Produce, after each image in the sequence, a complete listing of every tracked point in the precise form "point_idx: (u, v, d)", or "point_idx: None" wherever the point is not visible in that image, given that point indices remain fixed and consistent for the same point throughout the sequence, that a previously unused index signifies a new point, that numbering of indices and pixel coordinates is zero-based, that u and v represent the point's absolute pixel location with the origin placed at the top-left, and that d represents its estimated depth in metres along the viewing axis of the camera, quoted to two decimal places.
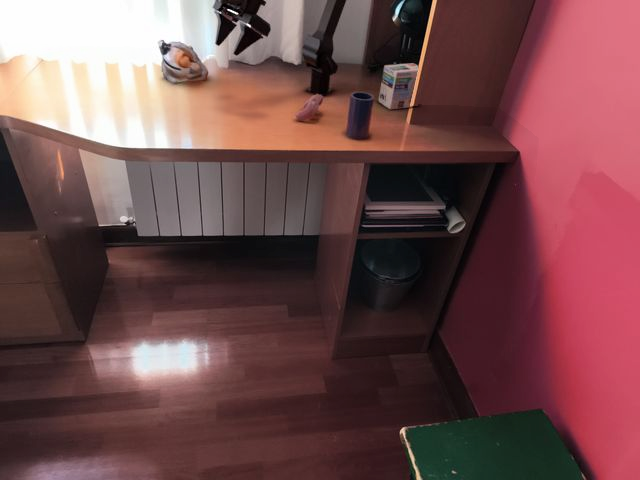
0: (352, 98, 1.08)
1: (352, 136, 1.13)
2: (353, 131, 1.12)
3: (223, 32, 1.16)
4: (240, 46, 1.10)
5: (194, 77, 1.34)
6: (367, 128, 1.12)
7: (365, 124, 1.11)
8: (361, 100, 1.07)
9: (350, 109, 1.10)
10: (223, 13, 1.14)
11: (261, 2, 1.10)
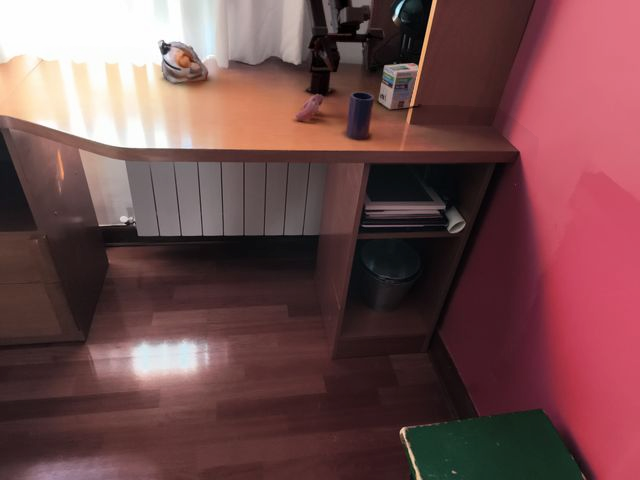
0: (352, 98, 1.08)
1: (352, 136, 1.13)
2: (353, 131, 1.12)
3: None
4: None
5: (194, 77, 1.34)
6: (367, 128, 1.12)
7: (365, 124, 1.11)
8: (361, 100, 1.07)
9: (350, 109, 1.10)
10: None
11: None
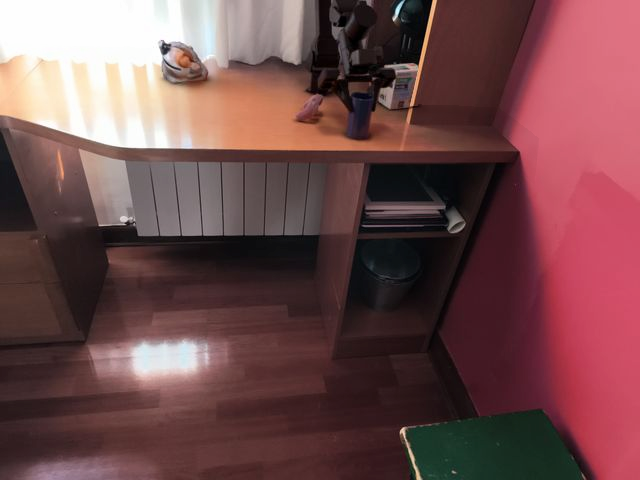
0: (352, 98, 1.08)
1: (352, 136, 1.13)
2: (353, 131, 1.12)
3: None
4: None
5: (194, 77, 1.34)
6: (367, 128, 1.12)
7: (365, 124, 1.11)
8: (361, 100, 1.07)
9: None
10: None
11: None
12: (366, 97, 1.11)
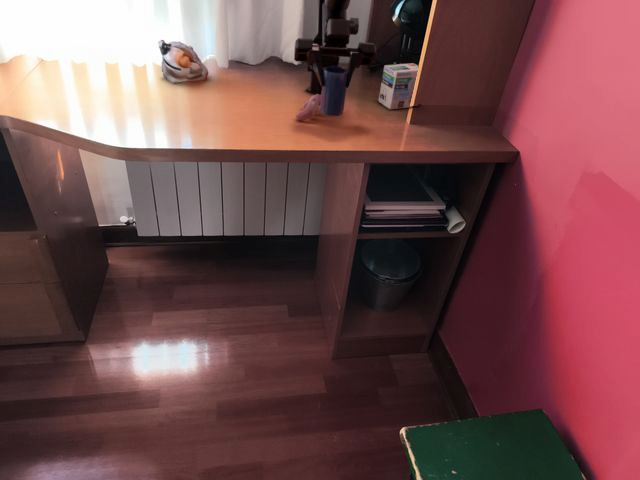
0: (324, 71, 1.04)
1: (324, 112, 1.08)
2: (324, 106, 1.08)
3: None
4: (350, 77, 1.06)
5: (194, 77, 1.34)
6: (340, 104, 1.07)
7: (337, 100, 1.06)
8: (331, 73, 1.03)
9: None
10: None
11: None
12: (342, 72, 1.06)
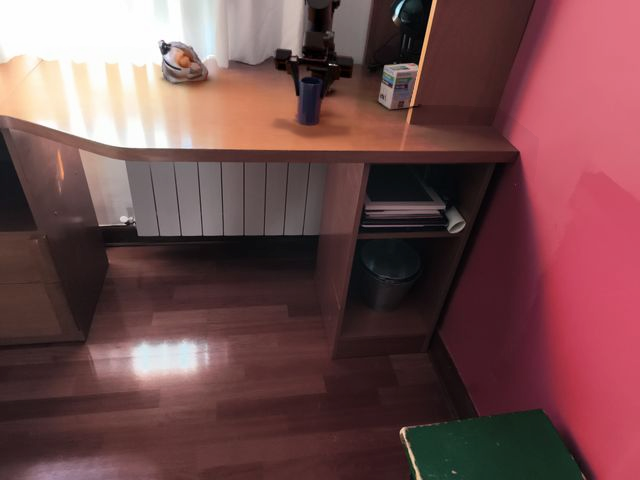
0: (299, 81, 1.06)
1: (299, 121, 1.10)
2: (299, 116, 1.10)
3: (298, 82, 1.08)
4: (326, 89, 1.07)
5: (194, 77, 1.34)
6: (314, 115, 1.09)
7: (311, 110, 1.08)
8: (304, 84, 1.04)
9: (298, 93, 1.08)
10: None
11: None
12: (318, 83, 1.08)
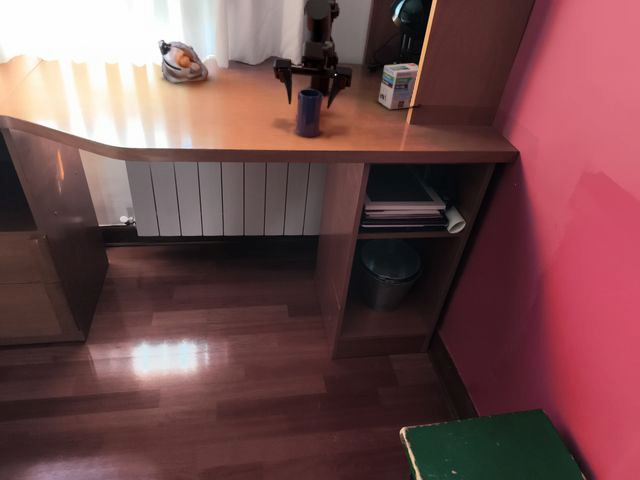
0: (298, 93, 1.08)
1: (298, 132, 1.12)
2: (298, 127, 1.11)
3: (291, 90, 1.09)
4: (332, 98, 1.08)
5: (194, 77, 1.34)
6: (313, 126, 1.10)
7: (310, 122, 1.09)
8: (303, 96, 1.06)
9: None
10: (289, 71, 1.08)
11: None
12: (317, 95, 1.09)
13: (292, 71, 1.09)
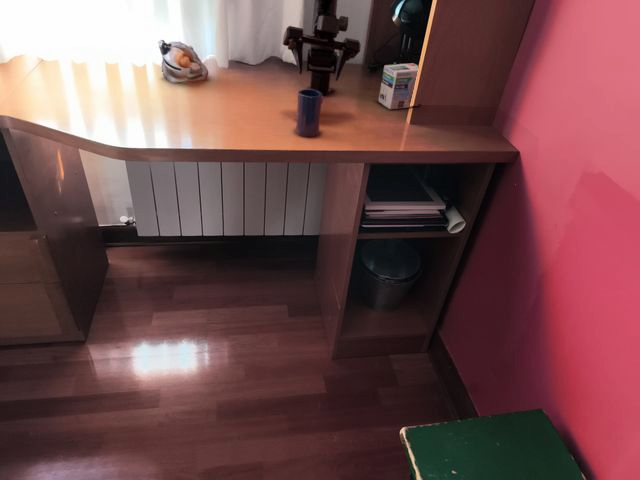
0: (298, 93, 1.08)
1: (298, 132, 1.12)
2: (298, 127, 1.11)
3: None
4: None
5: (194, 77, 1.34)
6: (313, 126, 1.10)
7: (310, 122, 1.09)
8: (303, 96, 1.06)
9: None
10: None
11: None
12: (317, 95, 1.09)
13: (302, 40, 1.11)
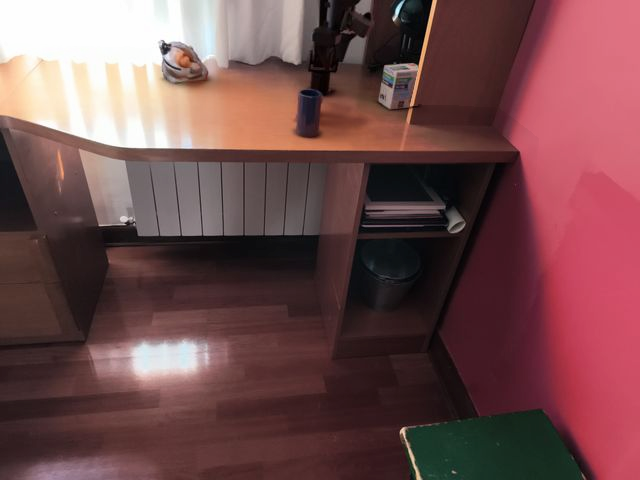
0: (298, 93, 1.08)
1: (298, 132, 1.12)
2: (298, 127, 1.11)
3: None
4: None
5: (194, 77, 1.34)
6: (313, 126, 1.10)
7: (310, 122, 1.09)
8: (303, 96, 1.06)
9: None
10: None
11: None
12: (317, 95, 1.09)
13: None
